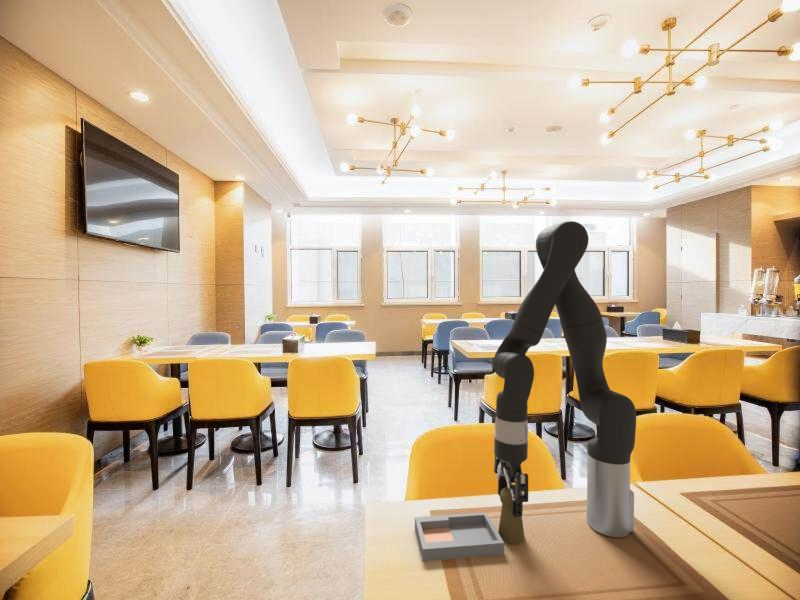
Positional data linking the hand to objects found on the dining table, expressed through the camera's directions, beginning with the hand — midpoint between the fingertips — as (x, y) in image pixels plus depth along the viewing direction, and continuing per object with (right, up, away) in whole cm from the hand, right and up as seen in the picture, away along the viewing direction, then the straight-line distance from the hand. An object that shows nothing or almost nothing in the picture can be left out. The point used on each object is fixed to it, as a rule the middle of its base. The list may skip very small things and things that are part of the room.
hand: (509, 505), depth 88 cm
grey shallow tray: (-12, -8, -1) cm, 15 cm away
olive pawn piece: (0, -8, 0) cm, 8 cm away
